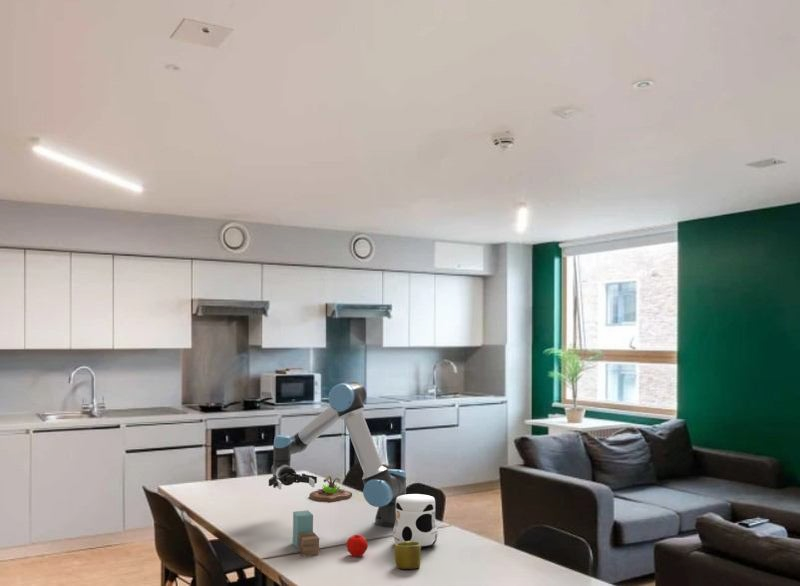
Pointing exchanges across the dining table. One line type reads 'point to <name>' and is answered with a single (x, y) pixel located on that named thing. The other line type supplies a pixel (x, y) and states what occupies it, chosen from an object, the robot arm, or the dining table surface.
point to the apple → (356, 545)
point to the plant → (330, 492)
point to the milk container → (415, 519)
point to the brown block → (308, 543)
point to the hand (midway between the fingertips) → (297, 485)
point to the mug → (407, 555)
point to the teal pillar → (301, 524)
